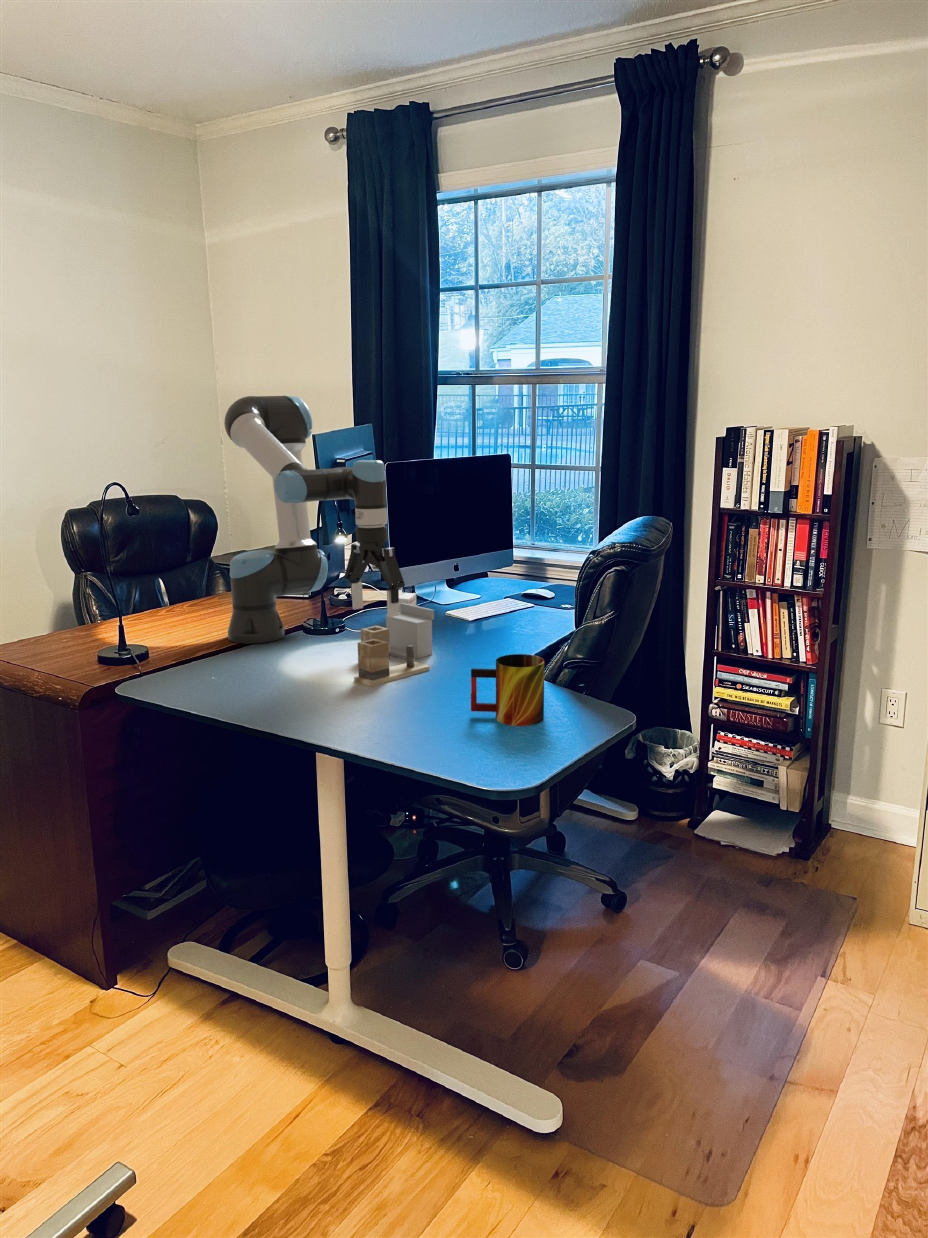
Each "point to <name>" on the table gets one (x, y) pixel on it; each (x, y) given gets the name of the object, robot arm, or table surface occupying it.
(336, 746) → the table surface
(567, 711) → the table surface
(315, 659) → the table surface
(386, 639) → the sleeve
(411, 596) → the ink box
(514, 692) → the mug
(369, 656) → the sleeve
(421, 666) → the pin board
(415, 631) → the chute
